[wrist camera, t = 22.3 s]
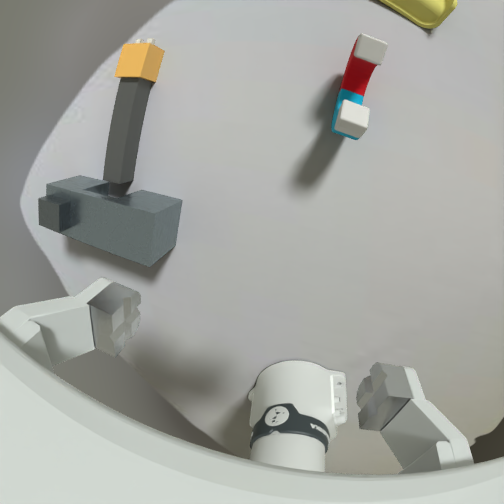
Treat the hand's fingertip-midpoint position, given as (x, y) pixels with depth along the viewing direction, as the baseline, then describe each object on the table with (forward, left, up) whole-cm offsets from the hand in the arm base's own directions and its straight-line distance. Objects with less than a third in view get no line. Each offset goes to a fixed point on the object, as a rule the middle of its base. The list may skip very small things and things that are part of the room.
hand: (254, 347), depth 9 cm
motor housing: (+9, +24, -29) cm, 39 cm away
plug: (+21, +14, -29) cm, 39 cm away
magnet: (+9, -12, -29) cm, 33 cm away
